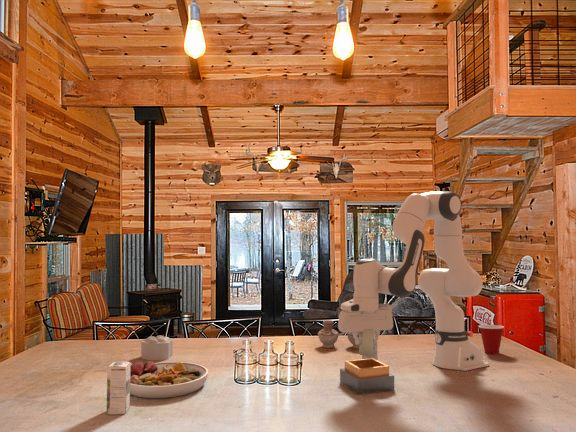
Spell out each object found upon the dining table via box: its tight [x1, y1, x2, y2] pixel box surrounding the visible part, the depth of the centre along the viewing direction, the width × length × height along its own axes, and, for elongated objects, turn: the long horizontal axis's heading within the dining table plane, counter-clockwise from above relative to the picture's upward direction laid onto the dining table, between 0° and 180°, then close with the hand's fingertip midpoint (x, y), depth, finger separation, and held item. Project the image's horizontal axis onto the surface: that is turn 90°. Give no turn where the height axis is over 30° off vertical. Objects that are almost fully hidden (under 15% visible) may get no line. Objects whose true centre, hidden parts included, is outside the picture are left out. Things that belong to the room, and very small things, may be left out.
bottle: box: [361, 331, 379, 361], centre depth 199 cm, size 7×7×20 cm
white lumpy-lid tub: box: [140, 335, 174, 361], centre depth 220 cm, size 10×13×9 cm
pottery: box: [317, 320, 359, 350], centre depth 237 cm, size 11×25×12 cm, turn 86°
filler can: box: [358, 329, 373, 356], centre depth 179 cm, size 5×5×11 cm
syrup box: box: [106, 361, 132, 416], centre depth 156 cm, size 6×6×14 cm
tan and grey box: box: [339, 358, 395, 395], centre depth 179 cm, size 14×14×8 cm
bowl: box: [130, 360, 209, 399], centre depth 180 cm, size 30×30×8 cm
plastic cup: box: [478, 324, 505, 355], centre depth 226 cm, size 11×11×12 cm
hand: (366, 343), depth 179 cm, fingers closed on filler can, 5 cm apart
